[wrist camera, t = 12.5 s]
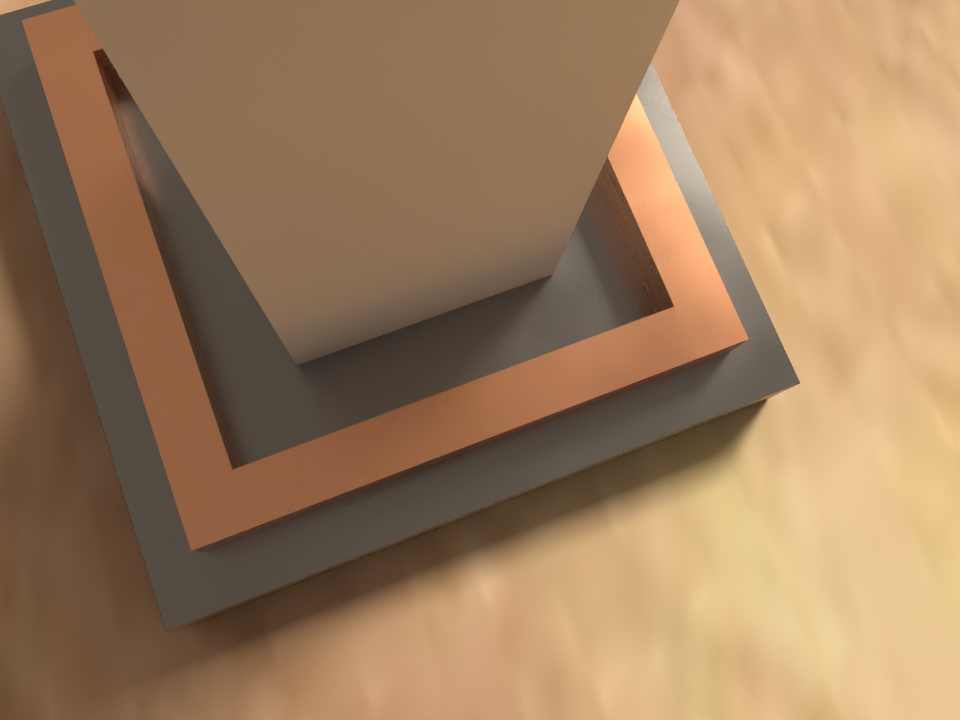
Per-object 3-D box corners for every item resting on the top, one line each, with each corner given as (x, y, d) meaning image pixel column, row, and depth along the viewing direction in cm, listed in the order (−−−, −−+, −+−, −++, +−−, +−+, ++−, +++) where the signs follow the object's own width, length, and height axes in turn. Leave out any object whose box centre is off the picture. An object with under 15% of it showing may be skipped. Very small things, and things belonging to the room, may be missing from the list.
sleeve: (553, 274, 17) (852, -373, 5) (296, 365, 16) (-16, -148, 5) (457, 45, 18) (528, -937, 6) (210, 123, 17) (-235, -820, 5)
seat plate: (769, 397, 18) (880, 344, 14) (188, 625, 17) (104, 647, 12) (545, -94, 20) (579, -273, 16) (11, 64, 19) (-113, -89, 14)
